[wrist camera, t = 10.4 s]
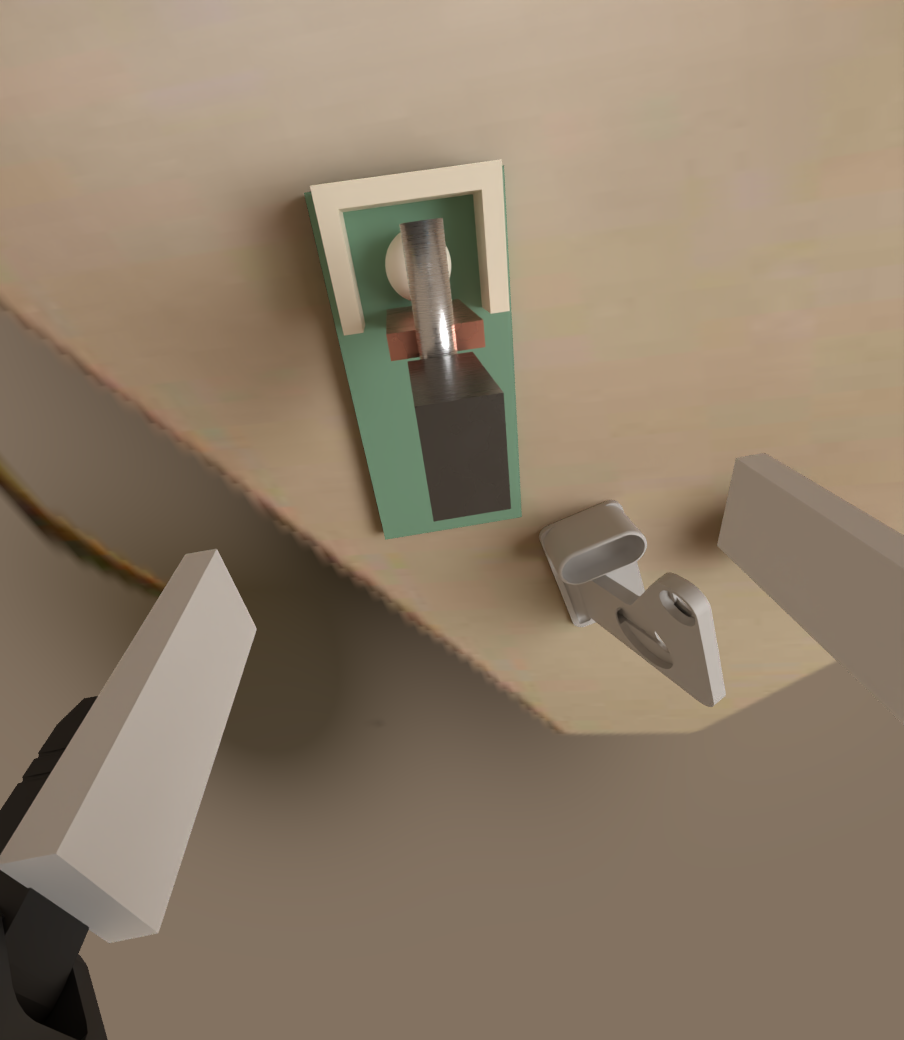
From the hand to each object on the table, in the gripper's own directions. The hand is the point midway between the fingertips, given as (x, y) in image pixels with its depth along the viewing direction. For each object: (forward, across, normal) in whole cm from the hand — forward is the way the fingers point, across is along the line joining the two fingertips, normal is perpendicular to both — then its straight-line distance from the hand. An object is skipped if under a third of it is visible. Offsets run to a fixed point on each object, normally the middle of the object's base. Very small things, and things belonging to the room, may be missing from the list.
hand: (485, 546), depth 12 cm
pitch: (+34, +1, -6) cm, 35 cm away
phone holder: (+34, +17, -31) cm, 49 cm away
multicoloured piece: (+33, +1, +1) cm, 33 cm away
